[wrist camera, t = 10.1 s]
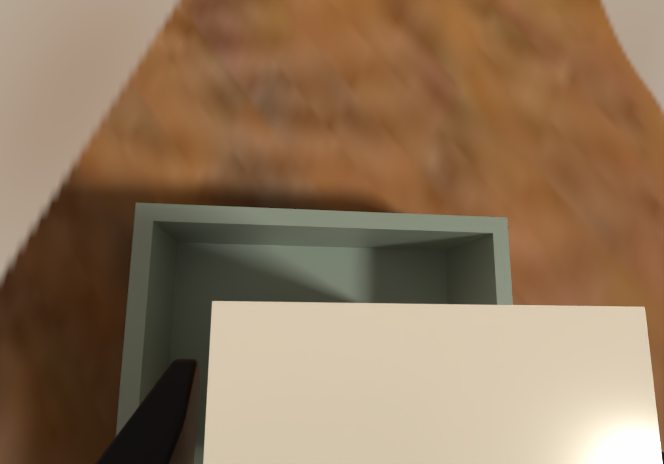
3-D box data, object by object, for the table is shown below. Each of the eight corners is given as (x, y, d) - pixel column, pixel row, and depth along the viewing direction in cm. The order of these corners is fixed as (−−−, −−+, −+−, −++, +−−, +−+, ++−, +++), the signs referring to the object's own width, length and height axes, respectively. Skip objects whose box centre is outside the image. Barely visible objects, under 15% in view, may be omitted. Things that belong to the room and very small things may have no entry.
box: (465, 545, 17) (532, 619, 13) (141, 566, 15) (96, 659, 11) (452, 240, 19) (507, 217, 15) (165, 230, 17) (135, 202, 13)
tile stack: (385, 461, 16) (701, 818, 5) (240, 466, 16) (178, 906, 4) (384, 315, 17) (644, 307, 6) (246, 314, 16) (211, 300, 5)
